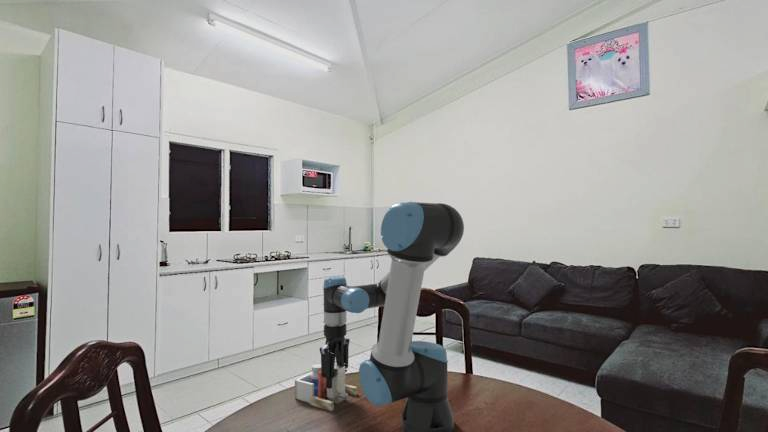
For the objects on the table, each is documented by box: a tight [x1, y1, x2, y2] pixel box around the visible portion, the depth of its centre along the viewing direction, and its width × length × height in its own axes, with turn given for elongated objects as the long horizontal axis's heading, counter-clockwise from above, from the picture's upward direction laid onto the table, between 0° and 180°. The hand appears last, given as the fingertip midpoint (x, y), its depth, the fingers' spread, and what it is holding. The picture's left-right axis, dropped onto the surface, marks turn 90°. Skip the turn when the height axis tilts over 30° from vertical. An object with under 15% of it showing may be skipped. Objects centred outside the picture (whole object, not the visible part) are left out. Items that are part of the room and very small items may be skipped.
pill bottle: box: [309, 363, 321, 397], centre depth 132 cm, size 6×5×10 cm
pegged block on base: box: [318, 363, 349, 405], centre depth 129 cm, size 10×6×11 cm, turn 59°
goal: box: [294, 372, 314, 404], centre depth 133 cm, size 8×12×6 cm, turn 149°
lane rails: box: [309, 383, 358, 412], centre depth 129 cm, size 9×14×2 cm, turn 149°
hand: (335, 394), depth 128 cm, fingers closed on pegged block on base, 4 cm apart
